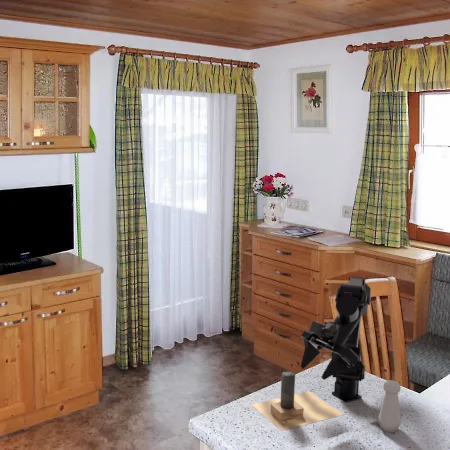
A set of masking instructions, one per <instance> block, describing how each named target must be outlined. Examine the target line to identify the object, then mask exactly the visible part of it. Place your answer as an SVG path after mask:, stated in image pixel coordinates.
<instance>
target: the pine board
mask: <svg viewBox="0 0 450 450" xmlns="http://www.w3.org/2000/svg"><path fill="white" fill-rule="evenodd" d="M294 401H295V402H297V403H298V404H299V405H300V406H301V407H303V408H304V410H303V417H301V418H296V419H291V420H286V421H281V422H280V421H279V420H278V419H277V418H276V417H275V416H274V415H273V414H272V413H271V404H273V403H278V402H281V397H278V398H274V399H273V398H272V399H268V400H265V401H264V400H263V401H260V402H256V403H251V404H250V405H251V406H252V407H253V408H254V409H256V411H258V412H259V413H260V414H261V415H262V416H263V417H265V418H266V419H267V420H268V421H270V423H272V424H273V425H274V426H275V427H277V428H278V430H280V431H281V432H283V431H286V430H287V431H288V430H291V429H294V428H298V427H302V426H307V425H311V424H314V423H317V422H321V421H325V420H330V419H333V418H336V417H340V416H344V415H345V414H343V413H342V412H341V411H340V410H338V409H336V407H333V406H332V405H330V404H329V403H327V402H326V401H325V400H323V399H321V398H320V397H319V396H318V395H316V394H315V393H313V392H312V391H304V392H299V393H294Z"/></svg>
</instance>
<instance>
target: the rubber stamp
mask: <svg viewBox="0 0 450 450" xmlns="http://www.w3.org/2000/svg"><path fill="white" fill-rule="evenodd" d="M280 383H281V384H280V398H281V402H278V403H273V404H271V413H272V414H273V415H274V416H275V417H276V418H277V419H278V420H279V421H280V422H281V421H286V420H291V419H296V418H301V417H303V410H304V408H303V407H301V406H300V405H299V404H298V403H297V402H295V401H294V394H295V391H296V390H295V389H296V388H295V386H296V385H295V384H296V373H294V372H291V371H284V372H282V373H281V382H280Z"/></svg>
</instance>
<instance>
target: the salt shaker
mask: <svg viewBox="0 0 450 450" xmlns="http://www.w3.org/2000/svg"><path fill="white" fill-rule="evenodd" d="M382 386H383V391H384V392H385V393H384V396H383V400H382V404H381V407H380V410H379V413H378V424H379V426H380V429H382V430H383V431H384V432H387V433H395V432H397V431H398V430H399V428H400V426H401V424H402V418H401V411H400V410H401V409H400V401H399V393H400V392H401V384H400V383H399V382H398V381H396V380H393V379H389V380H386V381H385V382H384V383H383V385H382Z"/></svg>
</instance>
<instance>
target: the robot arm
mask: <svg viewBox="0 0 450 450" xmlns="http://www.w3.org/2000/svg"><path fill="white" fill-rule="evenodd" d="M371 295H372V289H371V287H370V285H368V284H367V283H366V278H365V277H361V276H360V277H359V276H350V277H349V276H348V282H347V283H341V284H340V285H339V286H338V287H337V291H336V294H335V298H334V302H335V310H336V315H337V316H336V317H335V318H334V320H333V321H328V322H327V323H326V324H324V323H322V322H319V321H315V320H314V319H313V320H312V321H311V324H310V327H309V329H306V330H304V331H303V332H302V334H301V335H300V338H302V340H301V341H302V342H303V344H304V350H303V356H302V359H301V363H300V368H301V369H302V370H303V369H305V368H306V367H308V365H309V364H310V363H312V361H313V360H314V359H316V357H318V355H320V353H321V351H320V350H322V349H325V350H327V351H329V352H331V359H330V360H329V363H328V364H327V366H326V368H325V369H324V371H323V373H322V375H321V379H322V380H327V379H328V378H330V377H332V378H335V381H334V390H333V391H331V395H332V396H334V397H336V398H337V399H339V400H341V401H342V402H344V403H347V402H353V401H356V400H360V399H362V397H363V396H362V395H360V394H359V390H360V389H359V385H360V384H359V383H360V382H362V380H363V381H364V380H365V377H366V376H365V375H366V374H365V373H366V366H365V365H364V362H363V360H362V359H361V358H362V352H361V349H360V347H358V345H359V339H360V338H359V337H360V329H361V321H362V316H364V315H365V314H367V312H368V308H369V306H371V299H372V296H371Z"/></svg>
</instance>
